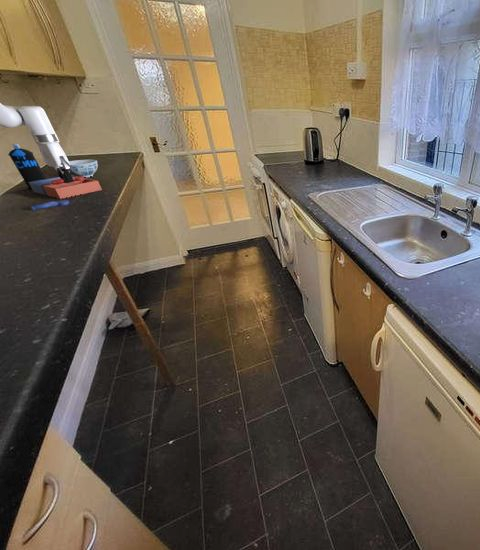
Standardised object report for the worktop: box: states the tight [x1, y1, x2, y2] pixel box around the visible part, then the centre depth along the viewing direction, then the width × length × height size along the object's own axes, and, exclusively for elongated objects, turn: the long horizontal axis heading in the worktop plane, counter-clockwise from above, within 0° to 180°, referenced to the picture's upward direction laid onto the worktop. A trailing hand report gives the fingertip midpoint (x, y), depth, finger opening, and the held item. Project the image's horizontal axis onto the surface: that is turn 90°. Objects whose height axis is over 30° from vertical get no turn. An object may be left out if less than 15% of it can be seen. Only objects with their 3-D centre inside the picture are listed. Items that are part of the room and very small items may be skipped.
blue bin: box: [29, 174, 78, 196], centre depth 144 cm, size 17×11×5 cm, turn 155°
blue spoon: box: [29, 199, 70, 211], centre depth 122 cm, size 12×4×2 cm, turn 155°
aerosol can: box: [7, 143, 47, 190], centre depth 142 cm, size 8×8×20 cm
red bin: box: [43, 177, 103, 200], centre depth 139 cm, size 17×11×5 cm, turn 155°
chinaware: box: [68, 159, 99, 178], centre depth 165 cm, size 15×15×8 cm
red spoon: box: [51, 176, 85, 185], centre depth 137 cm, size 12×4×2 cm, turn 155°
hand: (68, 181), depth 137 cm, fingers closed on red spoon, 2 cm apart
